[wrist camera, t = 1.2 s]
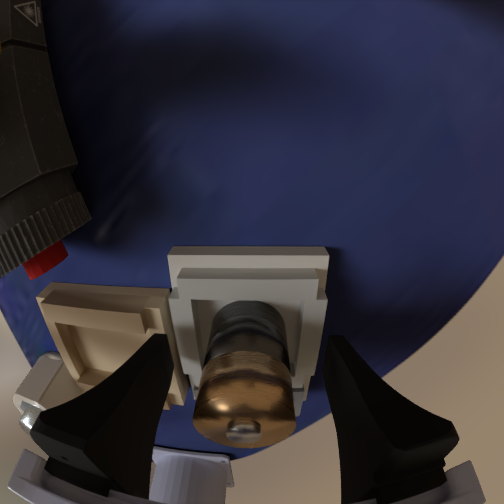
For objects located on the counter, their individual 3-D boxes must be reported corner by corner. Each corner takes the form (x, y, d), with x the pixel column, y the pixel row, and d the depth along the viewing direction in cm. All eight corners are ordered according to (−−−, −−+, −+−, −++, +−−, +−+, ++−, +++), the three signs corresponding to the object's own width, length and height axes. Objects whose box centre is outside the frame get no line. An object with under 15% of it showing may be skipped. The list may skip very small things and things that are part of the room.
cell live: (283, 355, 14) (291, 455, 9) (214, 355, 15) (199, 453, 9) (287, 299, 13) (303, 407, 8) (208, 299, 13) (182, 404, 8)
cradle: (303, 389, 17) (308, 417, 15) (196, 387, 17) (190, 416, 15) (324, 246, 13) (337, 270, 11) (173, 246, 13) (157, 269, 11)
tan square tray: (188, 384, 17) (182, 411, 15) (86, 369, 17) (74, 390, 15) (169, 288, 14) (156, 314, 12) (51, 281, 14) (31, 301, 12)
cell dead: (92, 404, 18) (66, 461, 12) (59, 394, 18) (32, 445, 12) (75, 374, 16) (41, 435, 11) (42, 365, 17) (8, 418, 11)
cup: (112, 408, 19) (93, 455, 15) (59, 394, 19) (38, 433, 15) (86, 358, 17) (56, 410, 12) (31, 345, 17) (1, 386, 12)
